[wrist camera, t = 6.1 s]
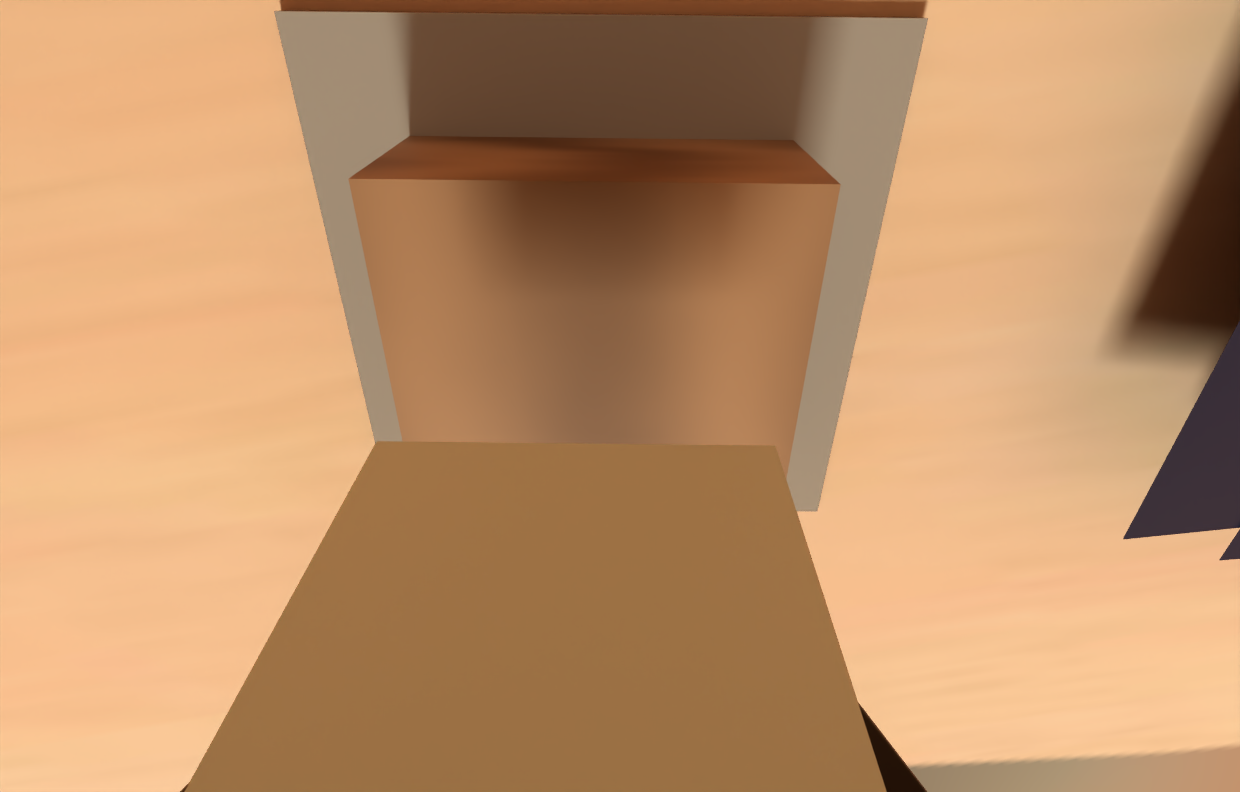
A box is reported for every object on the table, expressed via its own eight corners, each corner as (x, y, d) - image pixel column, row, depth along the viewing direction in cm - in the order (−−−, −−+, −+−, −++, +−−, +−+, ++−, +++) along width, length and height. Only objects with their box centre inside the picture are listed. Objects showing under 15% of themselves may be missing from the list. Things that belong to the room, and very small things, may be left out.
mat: (392, 499, 22) (390, 506, 22) (280, 10, 14) (274, 11, 14) (815, 505, 22) (817, 511, 21) (922, 17, 14) (927, 18, 14)
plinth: (456, 445, 20) (422, 538, 17) (409, 135, 15) (348, 179, 12) (749, 448, 20) (774, 543, 17) (793, 140, 15) (840, 184, 12)
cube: (433, 685, 11) (311, 1130, 7) (377, 441, 8) (110, 926, 4) (735, 688, 11) (804, 1137, 7) (775, 445, 8) (933, 936, 4)
